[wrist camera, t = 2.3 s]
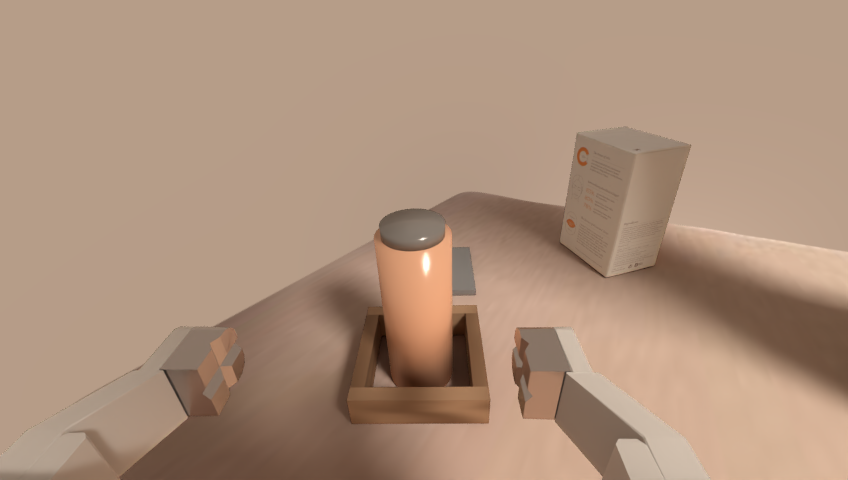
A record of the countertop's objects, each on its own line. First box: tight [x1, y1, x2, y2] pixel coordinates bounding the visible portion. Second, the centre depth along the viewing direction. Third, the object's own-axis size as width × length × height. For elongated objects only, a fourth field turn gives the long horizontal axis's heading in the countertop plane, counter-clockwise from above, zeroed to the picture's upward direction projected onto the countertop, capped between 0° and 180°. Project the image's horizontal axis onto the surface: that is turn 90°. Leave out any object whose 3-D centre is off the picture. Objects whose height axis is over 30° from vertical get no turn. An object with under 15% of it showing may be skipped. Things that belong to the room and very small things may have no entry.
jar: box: [374, 209, 453, 387], centre depth 26 cm, size 5×5×13 cm
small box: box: [560, 127, 691, 277], centre depth 39 cm, size 8×6×13 cm
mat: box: [452, 247, 476, 295], centre depth 40 cm, size 8×8×1 cm
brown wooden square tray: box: [347, 305, 490, 424], centre depth 29 cm, size 9×9×2 cm
